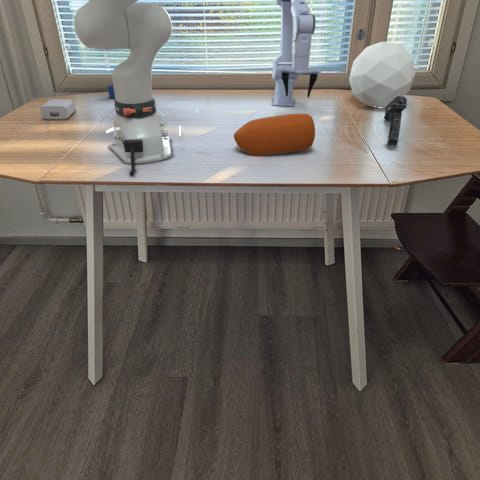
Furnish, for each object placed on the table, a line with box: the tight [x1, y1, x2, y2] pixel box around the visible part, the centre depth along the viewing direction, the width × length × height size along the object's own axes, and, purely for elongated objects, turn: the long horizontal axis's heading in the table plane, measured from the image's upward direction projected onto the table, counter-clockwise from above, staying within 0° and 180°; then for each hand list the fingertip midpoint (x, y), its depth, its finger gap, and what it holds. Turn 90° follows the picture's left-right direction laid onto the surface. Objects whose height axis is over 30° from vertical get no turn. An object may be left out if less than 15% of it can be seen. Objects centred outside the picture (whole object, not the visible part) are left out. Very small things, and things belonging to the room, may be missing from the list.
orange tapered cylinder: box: [233, 113, 316, 156], centre depth 124 cm, size 12×11×25 cm
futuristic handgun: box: [383, 96, 408, 147], centre depth 138 cm, size 4×29×15 cm, turn 164°
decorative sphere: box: [348, 41, 417, 110], centre depth 160 cm, size 24×25×25 cm
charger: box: [39, 98, 76, 120], centre depth 153 cm, size 5×9×15 cm
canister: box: [107, 83, 115, 100], centre depth 171 cm, size 4×4×5 cm
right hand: (297, 96), depth 145 cm, fingers open, 7 cm apart
